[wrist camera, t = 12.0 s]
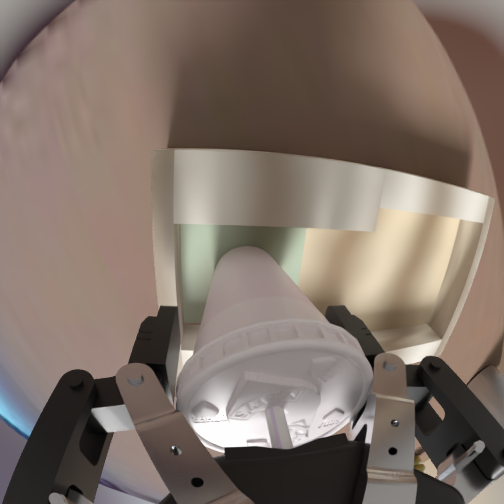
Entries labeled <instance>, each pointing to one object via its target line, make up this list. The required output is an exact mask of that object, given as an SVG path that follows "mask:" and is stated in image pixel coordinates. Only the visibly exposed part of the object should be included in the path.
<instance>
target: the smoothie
mask: <svg viewBox="0 0 504 504" xmlns="http://www.w3.org/2000/svg"><path fill="white" fill-rule="evenodd" d="M372 380H373V371H372V368H371V365H370V363H369V361H368V360H367V358H366V357H365V354H364V352H363V350H362V348H361V346H360V344H359V342H358V340H357V339H356V338H355V337H353V336H352V335H351V334H350V333H348V332H347V331H346V330H345V329H343V328H342V327H339V326H336V325H333V324H331V323H329V322H328V320H327V319H326V318H325V317H324V316H323V314H322V313H321V312H320V311H319V310H318V309H317V308H316V307H315V306H314V305H313V303H312V302H311V301H310V300H309V299H308V298H307V297H306V295H305V294H304V293H303V292H302V291H301V290H300V289H299V287H298V286H297V285H296V284H295V283H294V282H293V281H292V279H291V278H290V277H289V276H288V275H287V274H286V273H285V271H284V270H283V269H282V268H281V267H280V266H279V265H278V263H277V262H276V261H275V260H274V259H273V258H272V257H271V255H270V254H268V253H267V252H266V251H264V250H263V249H261V248H258V247H254V246H241V247H237V248H234V249H232V250H230V251H228V252H227V253H226V254H224V255H223V256H222V257H221V259H220V260H219V261H218V263H217V265H216V268H215V272H214V275H213V279H212V283H211V287H210V290H209V294H208V298H207V302H206V305H205V309H204V313H203V317H202V321H201V325H200V329H199V333H198V337H197V340H196V343H195V347H194V352H193V356H191V357H190V358H189V359H188V360H187V361H186V363H185V364H184V366H183V368H182V370H181V372H180V374H179V376H178V378H177V384H176V398H177V402H176V411H177V410H179V411H180V412H181V413H182V414H183V415H184V417H185V418H186V420H187V421H188V423H189V425H190V426H191V427H192V429H193V430H194V432H195V433H196V435H197V436H198V438H199V439H200V441H201V442H202V443H203V445H204V446H206V447H208V448H211V449H213V450H216V451H219V452H223V453H224V447H246V446H261V447H269V448H279V449H292V448H295V447H298V446H300V445H303V444H305V443H308V442H310V441H313V440H315V439H318V438H323V437H328V436H330V435H332V434H334V433H335V432H336V431H338V430H339V429H341V428H342V427H343V426H345V425H346V424H347V423H348V422H349V421H350V420H352V418H353V417H354V415H356V414H357V413H358V412H359V411H360V410H361V408H362V407H363V406H364V404H365V402H366V401H367V397H368V389H369V387H370V385H371V383H372Z"/></svg>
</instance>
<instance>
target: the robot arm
mask: <svg viewBox="0 0 504 504" xmlns="http://www.w3.org/2000/svg"><path fill="white" fill-rule="evenodd" d="M325 318H326V319H327V320H328V322H329V323H331V324H333V325H336V326H339V327H342V328H343V329H345V330H346V331H347V332H348V333H350V334H351V335H352V336H353V337H355V338H356V339H357V340H358V342H359V344H360V346H361V348H362V350H363V352H364V354H365V357H366V358H367V360H368V361H369V363H370V365H371V368H372V371H373V380H372V383H371V385H370V387H369V389H368V397H367V401H366V402H365V404H364V406H363V407H362V408H361V410H360V411H359V412H358V413H357V414H356V415H354V417H353V418H352V420H351V421H350V426H349V431H348V435H347V437H346V434H345V433H342V434H338V435H333V436H328V437H323V438H318V439H315V440H313V441H310V442H308V443H305V444H303V445H300V446H298V447H295V448H292V449H279V448H269V447H261V446H246V447H224V455H221V456H217V457H214V458H213V457H212V456H211V454H210V453H209V452H208V450H207V449H206V448H205V446H204V445H203V443H202V442H201V441H200V439H199V438H198V436H197V435H196V433H195V432H194V430H193V429H192V427H191V426H190V425H189V423H188V421H187V420H186V418H185V417H184V415H183V414H182V413H181V412H180V411H179V410H177V411H176V410H175V408H174V407H173V405H174V396H175V386H176V377H177V369H178V361H179V353H180V326H179V314H178V307H177V306H162V305H161V306H160V308H159V311H158V315H157V317H152V316H148V317H147V318H146V319H145V320H144V321H143V322H142V323H141V326H140V329H139V333H138V334H137V337H136V340H135V343H134V346H133V350H132V353H131V356H130V359H129V362H128V364H127V365H125V366H123V367H121V368H120V369H119V370H118V372H117V374H116V376H113V377H109V378H101V379H93V377H92V375H91V374H90V373H89V372H87V371H85V370H80V369H76V370H71V371H69V372H67V373H65V374H64V375H63V376H62V377H61V379H60V380H59V382H58V384H57V386H56V387H55V389H54V391H53V393H52V394H51V396H50V398H49V400H48V402H47V403H46V405H45V407H44V409H43V411H42V413H41V415H40V417H39V419H38V421H37V423H36V425H35V427H34V429H33V431H32V433H31V435H30V437H29V439H28V441H27V443H26V445H25V448H24V450H23V452H22V454H21V456H20V459H19V461H18V463H17V466H16V468H15V471H14V473H13V475H12V478H11V481H10V483H9V486H8V489H7V491H6V494H5V497H4V500H3V503H2V504H94V499H95V495H96V491H97V488H98V484H99V480H100V477H101V473H102V470H103V466H104V463H105V459H106V456H107V453H108V450H109V446H110V443H111V440H112V437H113V434H114V432H116V431H124V430H131V429H136V431H137V433H138V435H139V437H140V439H141V441H142V443H143V445H144V447H145V449H146V451H147V453H148V455H149V457H150V459H151V461H152V462H153V464H154V466H155V468H156V470H157V471H158V473H159V475H160V477H161V478H162V480H163V482H164V483H165V485H166V487H167V488H168V490H169V492H170V493H169V494H168V495H167V496H166V497H165V498H164V499H163V500H162V501H161V502H160V503H159V504H467V503H469V502H470V501H471V500H472V499H473V498H474V497H476V496H477V495H478V494H479V493H480V492H481V491H482V490H483V489H485V488H486V487H488V486H489V485H490V484H492V483H493V482H494V481H496V480H497V479H498V478H499V477H501V476H502V475H503V474H504V375H503V374H502V373H501V372H500V371H499V369H498V368H497V367H494V366H493V365H490V366H488V367H486V368H485V369H484V370H482V371H481V372H480V373H479V374H478V375H477V376H476V377H475V378H474V379H473V380H472V381H471V382H470V383H469V384H468V385H467V386H466V384H465V383H464V382H463V381H462V380H461V379H460V378H459V377H458V376H457V375H456V373H455V372H454V371H453V370H452V369H451V368H450V367H449V366H448V365H447V364H446V363H445V362H444V361H443V360H442V359H440V358H438V357H436V356H426V357H424V358H423V359H422V361H421V363H420V365H407V364H405V363H404V361H403V360H402V359H401V358H400V357H399V356H397V355H395V354H392V353H385V351H384V350H383V348H382V347H381V345H380V344H379V343H378V341H377V340H376V338H375V337H374V336H373V335H372V333H371V332H370V330H369V329H368V327H367V326H366V325H365V323H364V322H363V321H362V320H361V319H359V318H358V317H357V316H355V315H351V313H350V312H349V310H348V309H347V308H346V306H345V305H335V306H328V307H327V309H326V313H325ZM433 396H434V398H435V399H436V400H437V401H438V403H439V404H440V405H441V406H442V408H443V409H444V411H445V417H444V419H443V421H442V420H441V418H440V417H439V416H438V414H437V413H436V412H435V410H434V409H433V408H432V407H431V405H430V404H429V403H428V402H429V401H430V399H431V398H432V397H433ZM415 437H416V438H417V440H418V441H419V443H420V444H421V446H422V447H423V449H424V450H425V452H426V453H427V455H428V456H429V458H430V459H431V461H432V462H433V464H434V465H435V467H436V469H437V475H438V476H436V478H434V477H432V476H430V475H428V474H425V473H423V472H421V471H419V470H417V469H415V468H414V450H415Z"/></svg>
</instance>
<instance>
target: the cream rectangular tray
mask: <svg viewBox="0 0 504 504" xmlns="http://www.w3.org/2000/svg"><path fill="white" fill-rule="evenodd" d="M151 192H152V231H153V250H154V264H155V277H156V288H157V298H158V307H159V308H160V306H161V305H162V306H177V307H178V314H179V326H180V353H179V361H178V369H177V377H176V384H177V378H178V376H179V374H180V372H181V370H182V368H183V366H184V364H185V363H186V361H187V360H188V359H189V358H190V357H191V356H193V352H194V347H195V343H196V340H197V337H198V333H199V329H200V325H201V321H202V317H203V313H204V309H205V305H206V302H207V298H208V294H209V290H210V287H211V283H212V279H213V275H214V272H215V268H216V265H217V263H218V261H219V260H220V259H221V257H222V256H223V255H224V254H226V253H227V252H228V251H230V250H232V249H234V248H237V247H241V246H254V247H258V248H261V249H263V250H264V251H266V252H267V253H268V254H270V255H271V257H272V258H273V259H274V260H275V261H276V262H277V263H278V265H279V266H280V267H281V268H282V269H283V270H284V271H285V273H286V274H287V275H288V276H289V277H290V278H291V279H292V281H293V282H294V283H295V284H296V285H297V286H298V287H299V289H300V290H301V291H302V292H303V293H304V294H305V295H306V297H307V298H308V299H309V300H310V301H311V302H312V303H313V305H314V306H315V307H316V308H317V309H318V310H319V311H320V312H321V313H322V314H323V316H324V317H325V313H326V309H327V307H328V306H335V305H345V306H346V308H347V309H348V310H349V312H350V313H351V315H355V316H357V317H358V318H359V319H361V320H362V321H363V322H364V323H365V325H366V326H367V327H368V329H369V330H370V332H371V333H372V335H373V336H374V337H375V338H376V340H377V341H378V343H379V344H380V345H381V347H382V348H383V350H384V351H385V353H392V354H395V355H397V356H399V357H400V358H401V359H402V360H403V361H404V363H405V364H411V363H415V362H419V361H422V359H423V358H424V357H426V356H436V357H437V356H440V355H441V353H442V351H443V349H444V347H445V345H446V343H447V341H448V339H449V337H450V335H451V333H452V331H453V329H454V326H455V324H456V322H457V320H458V318H459V315H460V313H461V311H462V308H463V306H464V303H465V301H466V298H467V296H468V293H469V291H470V288H471V285H472V282H473V280H474V277H475V274H476V271H477V268H478V265H479V262H480V258H481V255H482V252H483V248H484V245H485V241H486V237H487V233H488V229H489V225H490V221H491V216H492V211H493V206H494V201H495V198H492V197H490V196H487V195H484V194H481V193H478V192H476V191H473V190H470V189H467V188H464V187H460V186H457V185H453V184H450V183H446V182H443V181H439V180H435V179H431V178H427V177H423V176H419V175H415V174H410V173H406V172H401V171H397V170H392V169H387V168H382V167H377V166H372V165H366V164H360V163H355V162H348V161H342V160H336V159H329V158H321V157H314V156H305V155H297V154H287V153H277V152H265V151H251V150H234V149H207V148H165V149H157V150H152V175H151Z"/></svg>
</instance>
